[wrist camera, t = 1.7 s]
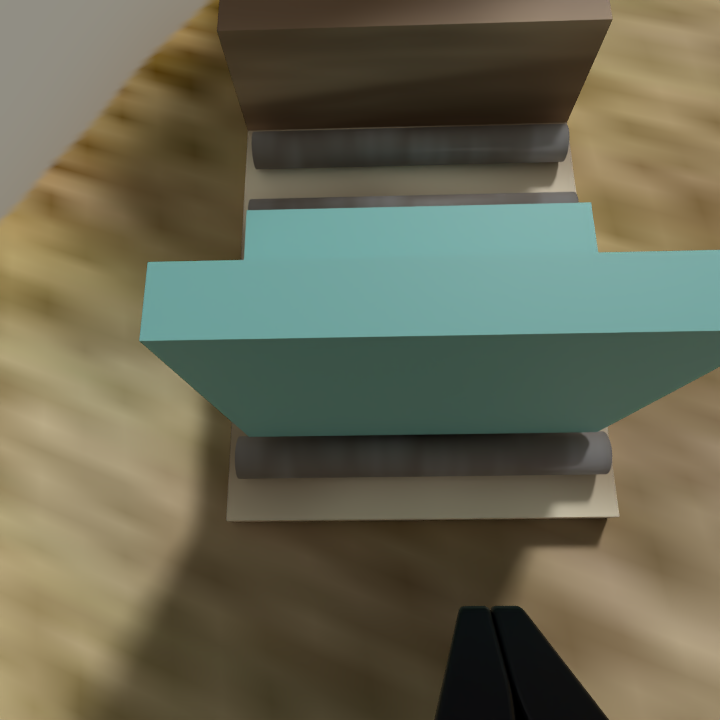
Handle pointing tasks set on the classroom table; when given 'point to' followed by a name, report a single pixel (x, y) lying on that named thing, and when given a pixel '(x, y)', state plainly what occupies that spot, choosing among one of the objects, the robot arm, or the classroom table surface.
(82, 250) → the classroom table surface
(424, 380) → the teal l-shaped block
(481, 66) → the roller track
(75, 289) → the classroom table surface
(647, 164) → the classroom table surface
